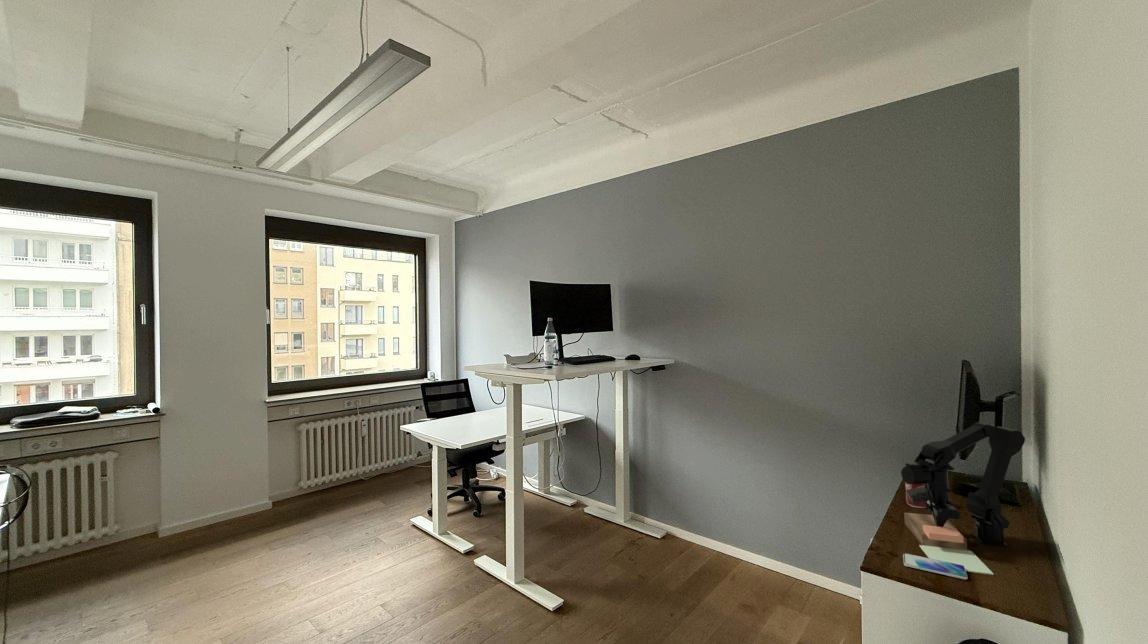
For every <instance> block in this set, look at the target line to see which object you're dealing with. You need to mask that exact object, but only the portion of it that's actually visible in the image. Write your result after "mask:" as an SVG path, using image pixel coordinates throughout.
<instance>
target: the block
mask: <svg viewBox="0 0 1148 644" xmlns="http://www.w3.org/2000/svg"><path fill="white" fill-rule="evenodd" d="M923 531H924V533H925V534H926V535H927V537H928V538H929V539H933V540H942V541H950V542H959V543H964V540H963V536H964V535H963V534H962V533H961V532H960V531H959V529H957V528H956V527H955V528H947V527H938V526H929V525H923ZM958 531H959V532H960V533H961V534H962V535H963V536H962V535H961V534H960V533H959V532H958Z"/></svg>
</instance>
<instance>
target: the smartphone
mask: <svg viewBox="0 0 1148 644" xmlns="http://www.w3.org/2000/svg"><path fill="white" fill-rule="evenodd" d="M902 558H903V565H904V566H905V567H907V568H908V567H909V568H913V569H917V570H921V571H924V572H925V571H926V572H930V573H935V574H938V575H939V574H940V575H944V576H947V577H951V578H956V579H961V580H965V581H966V580H968V574H967V571H966V570H965V567H964V566H963V565H959V564H954V563H949V562H945V561H940V560H935V559H930V558H928V557H924V556H920V555H916V554H910V553H906V552H905V553H903V554H902Z"/></svg>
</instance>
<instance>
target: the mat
mask: <svg viewBox="0 0 1148 644" xmlns="http://www.w3.org/2000/svg"><path fill="white" fill-rule="evenodd" d="M919 548H921V550H922V551H923V553H924V555H926V557H927V558H930V559H935V560H940V561H945V562H949V563H954V564H959V565H963V566H964V567H965V570H966V573H967V572H970V573H976V574H983V575H991V576H992V575H993V576H994V575H995V574H994V573H993V571H992V570H991V569H990V568H989V567H988V566H987V565H985V563H984V562H983V561H982V560H981V559H980V558H979V557H978V556H977V555H976V554H975V553H974V552H973V551H972V550H969V549H967V550H960V549H951V548H942V547H933V546H925V545H922V544H919Z"/></svg>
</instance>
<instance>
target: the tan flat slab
mask: <svg viewBox="0 0 1148 644" xmlns="http://www.w3.org/2000/svg"><path fill="white" fill-rule="evenodd" d="M903 514H904V524H905V526H906V527H907V528H908V530H909V531H910V532H911V533H912V534H913V535H914V537H915V539H916V540H917V541H918V542H919V543H920V545H925V546H933V547H942V548H951V549H960V550H968V538H966V537H965V536H964V535H963V533H961V532H960V531H959V530H958V532H959V533H960V534H961V535H962V536H963V540H964V543H959V542H950V541H942V540H933V539H929V538H928V537H927V535H926V534H925V533H924V531H923V525H929V526H936V523H935V520H934V517H933V515H932V514H924V513H923V514H922V513H916V512H915V513H913V512H904V513H903ZM943 527H947V528H956V527H955V526H954V525H953V524H952V523H951V522H950V521H949V519H948V520H947V521H946V523H945V525H944V526H943Z"/></svg>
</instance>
